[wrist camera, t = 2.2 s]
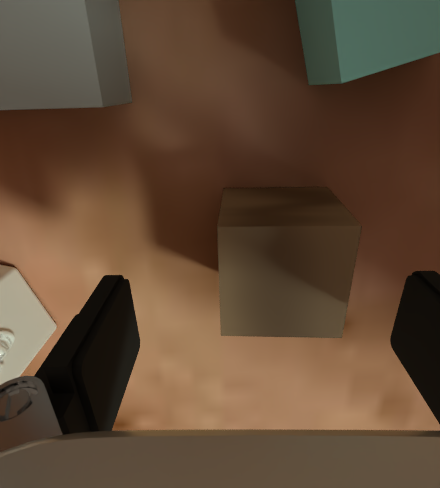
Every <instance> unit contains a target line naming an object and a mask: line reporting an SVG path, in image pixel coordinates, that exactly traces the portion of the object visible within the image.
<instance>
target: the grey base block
mask: <svg viewBox="0 0 440 488" xmlns="http://www.w3.org/2000/svg"><path fill="white" fill-rule="evenodd" d="M126 103H132V96H131V89H130V82H129V74H128V67H127V60H126V52H125V45H124V37H123V30H122V23H121V15H120V8H119V1H118V0H0V110H23V109H57V108H90V107H107V106H113V105H120V104H126Z"/></svg>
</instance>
